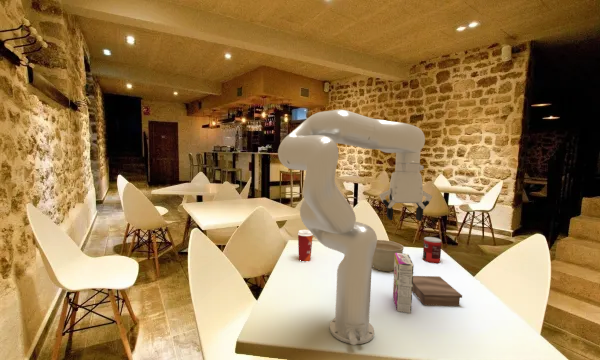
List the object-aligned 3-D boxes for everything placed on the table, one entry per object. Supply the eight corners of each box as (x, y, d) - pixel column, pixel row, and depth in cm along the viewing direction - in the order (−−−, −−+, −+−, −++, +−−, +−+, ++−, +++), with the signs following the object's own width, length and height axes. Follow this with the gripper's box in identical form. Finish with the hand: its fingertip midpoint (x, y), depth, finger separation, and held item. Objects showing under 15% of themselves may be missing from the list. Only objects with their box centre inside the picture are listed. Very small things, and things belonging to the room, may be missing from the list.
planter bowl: (407, 275, 126) (408, 250, 125) (369, 274, 127) (370, 249, 126) (396, 262, 142) (397, 240, 142) (362, 261, 143) (363, 239, 142)
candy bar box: (391, 296, 107) (394, 252, 105) (406, 298, 106) (408, 253, 104) (395, 312, 96) (398, 263, 94) (411, 314, 95) (414, 264, 93)
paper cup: (312, 262, 138) (313, 233, 137) (296, 262, 138) (297, 233, 137) (312, 257, 146) (313, 229, 145) (296, 256, 146) (297, 229, 145)
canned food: (424, 257, 151) (425, 236, 150) (441, 260, 147) (443, 238, 146) (420, 261, 145) (422, 239, 144) (438, 264, 140) (439, 242, 140)
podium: (461, 306, 100) (462, 295, 100) (423, 305, 100) (424, 294, 100) (438, 286, 116) (439, 276, 116) (406, 285, 116) (406, 275, 116)
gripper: (428, 169, 101) (425, 218, 103) (378, 167, 101) (375, 216, 102) (438, 170, 94) (435, 222, 95) (384, 168, 93) (381, 221, 95)
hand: (404, 219), depth 99 cm, fingers open, 9 cm apart
